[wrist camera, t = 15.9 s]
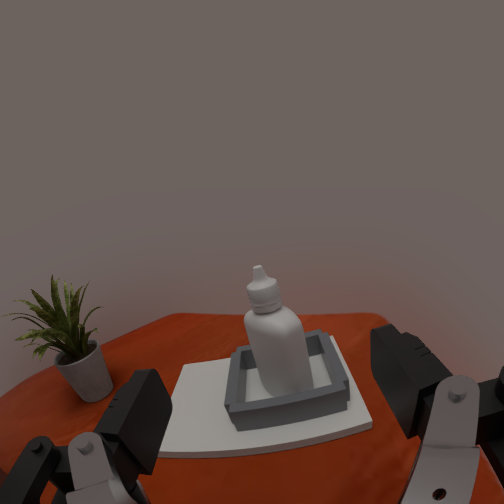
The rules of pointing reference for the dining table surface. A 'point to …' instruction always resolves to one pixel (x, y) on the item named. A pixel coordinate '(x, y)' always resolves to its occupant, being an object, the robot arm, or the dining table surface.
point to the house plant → (71, 344)
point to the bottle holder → (261, 406)
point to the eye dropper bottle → (276, 339)
